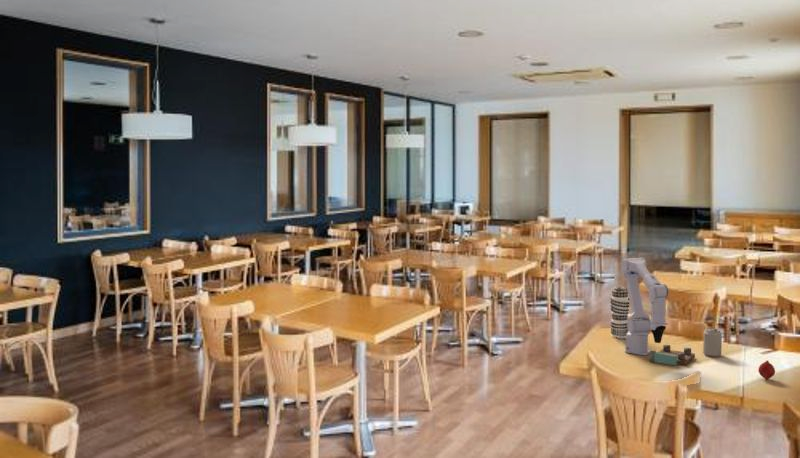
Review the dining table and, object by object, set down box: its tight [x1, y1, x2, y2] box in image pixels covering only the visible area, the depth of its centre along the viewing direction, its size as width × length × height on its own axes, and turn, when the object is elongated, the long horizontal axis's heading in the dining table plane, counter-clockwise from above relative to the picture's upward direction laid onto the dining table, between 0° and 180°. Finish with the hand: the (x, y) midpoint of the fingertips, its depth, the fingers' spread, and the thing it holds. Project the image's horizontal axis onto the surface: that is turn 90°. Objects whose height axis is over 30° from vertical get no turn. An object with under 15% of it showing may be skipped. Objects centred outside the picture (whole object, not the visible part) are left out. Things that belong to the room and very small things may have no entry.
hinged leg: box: [649, 350, 677, 366], centre depth 291 cm, size 11×2×4 cm, turn 51°
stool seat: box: [658, 344, 696, 367], centre depth 296 cm, size 14×14×4 cm
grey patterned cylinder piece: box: [609, 285, 630, 339], centre depth 336 cm, size 9×9×25 cm
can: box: [702, 327, 723, 358], centre depth 301 cm, size 8×8×12 cm
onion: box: [757, 360, 776, 381], centre depth 267 cm, size 6×6×8 cm
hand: (657, 342), depth 290 cm, fingers closed
